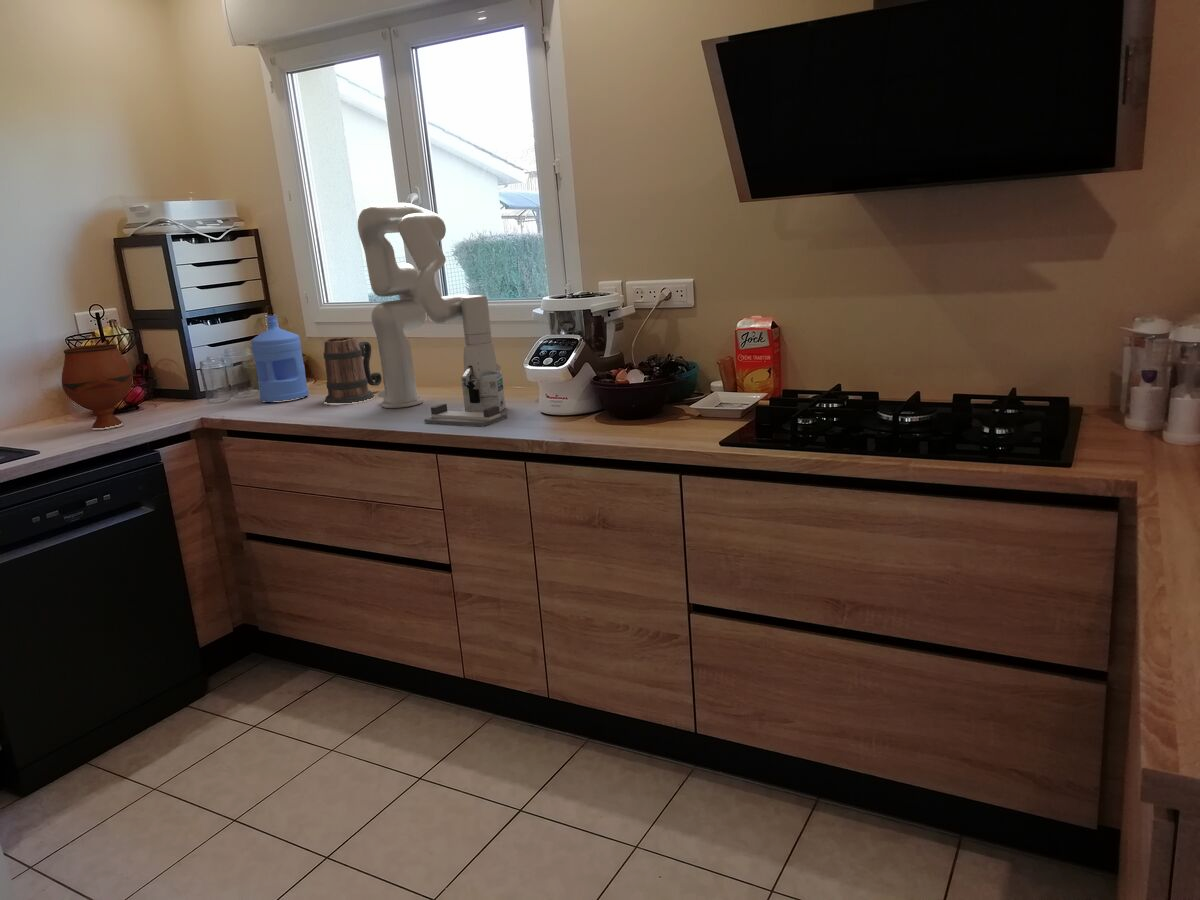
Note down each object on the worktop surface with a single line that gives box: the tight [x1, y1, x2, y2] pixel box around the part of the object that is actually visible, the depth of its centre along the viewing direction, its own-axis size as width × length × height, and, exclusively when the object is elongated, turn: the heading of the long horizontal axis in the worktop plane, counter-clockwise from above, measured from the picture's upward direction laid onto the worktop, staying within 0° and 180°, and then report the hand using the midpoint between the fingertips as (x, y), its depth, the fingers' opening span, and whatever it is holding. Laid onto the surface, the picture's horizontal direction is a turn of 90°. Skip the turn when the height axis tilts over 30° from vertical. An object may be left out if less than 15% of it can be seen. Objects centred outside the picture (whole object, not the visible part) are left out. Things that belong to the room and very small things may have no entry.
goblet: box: [61, 343, 134, 429], centre depth 263 cm, size 19×19×25 cm
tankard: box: [323, 337, 383, 403], centre depth 283 cm, size 24×17×20 cm
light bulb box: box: [460, 371, 506, 413], centre depth 249 cm, size 11×7×11 cm, turn 84°
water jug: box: [250, 315, 310, 402], centre depth 290 cm, size 16×16×28 cm
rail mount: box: [424, 403, 508, 427], centre depth 238 cm, size 20×11×4 cm, turn 61°
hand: (484, 399), depth 249 cm, fingers closed on light bulb box, 8 cm apart
